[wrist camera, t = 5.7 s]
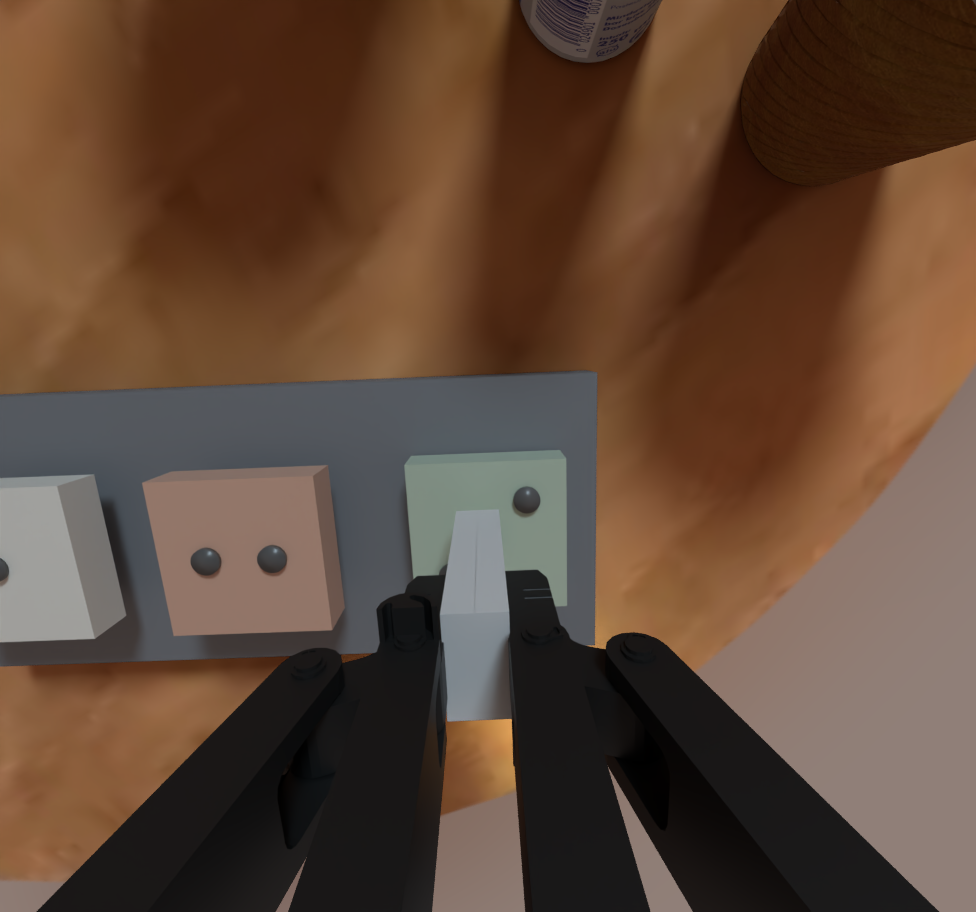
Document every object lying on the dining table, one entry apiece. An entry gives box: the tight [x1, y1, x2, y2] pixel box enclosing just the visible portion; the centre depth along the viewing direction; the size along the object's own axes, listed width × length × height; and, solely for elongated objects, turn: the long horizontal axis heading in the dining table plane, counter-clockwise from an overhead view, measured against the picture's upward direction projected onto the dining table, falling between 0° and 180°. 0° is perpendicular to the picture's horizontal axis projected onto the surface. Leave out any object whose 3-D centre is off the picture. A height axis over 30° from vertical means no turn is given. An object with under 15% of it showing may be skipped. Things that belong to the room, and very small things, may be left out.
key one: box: [0, 474, 126, 642], centre depth 19 cm, size 6×6×4 cm
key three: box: [404, 450, 567, 606], centre depth 20 cm, size 6×6×4 cm
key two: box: [142, 465, 345, 636], centre depth 19 cm, size 6×6×4 cm
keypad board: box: [0, 370, 597, 666], centre depth 21 cm, size 27×12×2 cm, turn 92°
